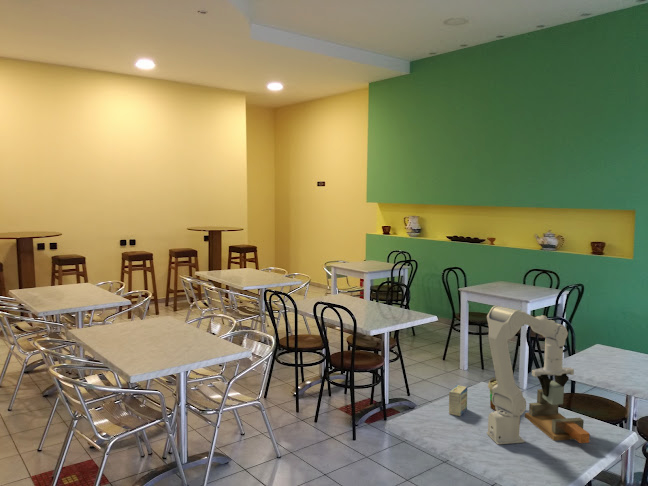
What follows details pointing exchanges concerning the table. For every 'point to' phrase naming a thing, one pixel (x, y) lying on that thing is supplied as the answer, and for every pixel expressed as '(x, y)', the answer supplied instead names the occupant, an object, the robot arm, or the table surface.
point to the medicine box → (458, 400)
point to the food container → (490, 386)
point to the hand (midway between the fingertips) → (551, 395)
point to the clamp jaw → (571, 428)
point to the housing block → (555, 393)
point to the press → (545, 417)
